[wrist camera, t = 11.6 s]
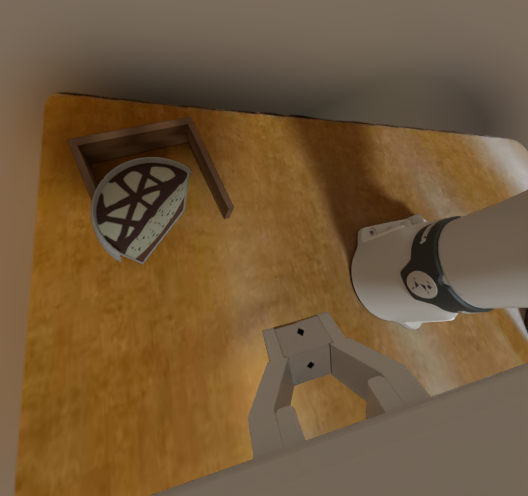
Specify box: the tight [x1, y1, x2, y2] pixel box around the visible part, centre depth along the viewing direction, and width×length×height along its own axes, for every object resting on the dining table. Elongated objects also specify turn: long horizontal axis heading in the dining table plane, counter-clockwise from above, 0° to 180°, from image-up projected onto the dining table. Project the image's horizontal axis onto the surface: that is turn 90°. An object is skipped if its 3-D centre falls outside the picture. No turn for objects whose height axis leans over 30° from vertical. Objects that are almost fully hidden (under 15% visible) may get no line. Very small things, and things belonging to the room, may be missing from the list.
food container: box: [91, 157, 192, 264], centre depth 29 cm, size 12×6×10 cm, turn 151°
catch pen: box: [67, 117, 234, 257], centre depth 34 cm, size 15×14×4 cm
